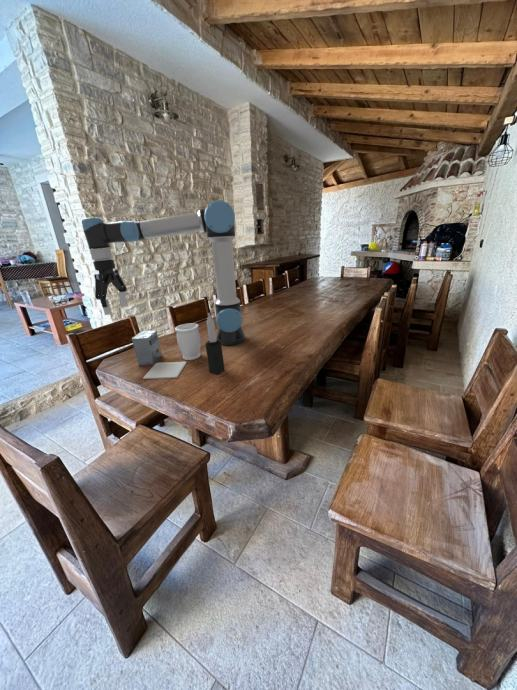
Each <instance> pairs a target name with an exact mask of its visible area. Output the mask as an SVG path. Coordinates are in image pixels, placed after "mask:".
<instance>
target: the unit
mask: <svg viewBox="0 0 517 690" xmlns="http://www.w3.org/2000/svg"><path fill="white" fill-rule="evenodd" d="M131 340H132V345H133V348H134V352H135V353H134V354H135V357H136V360H137V364H138V367H139V366H154V365H155V364H156V363H158V361H159V360H160V358H161V357H163V355H162V349H161V346H160V345H161V344H160V340H159V337H158V332H157V330H155V329H154V330H141V331H140V332H139V333H137V334H136V335H135V336H133V337H132V338H131Z"/></svg>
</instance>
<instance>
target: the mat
mask: <svg viewBox="0 0 517 690" xmlns="http://www.w3.org/2000/svg"><path fill="white" fill-rule="evenodd" d="M187 364H188V361H169V362H168V361H165V362H156V363H155V364H154V365H152V367H151V368H150V369H149V370H148V371H147V372H146V373H145V375H144V376H143V377H142V378H143V380H155V379H156V380H159V379H178V377H179V376H180V375H181V372H182V371H183V369H184V368H185V366H186V365H187Z"/></svg>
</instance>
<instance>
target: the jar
mask: <svg viewBox="0 0 517 690" xmlns="http://www.w3.org/2000/svg"><path fill="white" fill-rule="evenodd" d="M174 330H175V332H176V342H177V345H178V347H179V351H180V353H181V354H182V359H183V360H184V361H185V360H186V361H192V360H193V361H194V360H197V359H199V358H200V357H201V352H200V351H201V342H202V341H201V334H200V331H199V324H198V323H193V322H190V323H183V324H179V325H177V326H175V328H174Z"/></svg>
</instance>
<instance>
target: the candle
mask: <svg viewBox="0 0 517 690" xmlns="http://www.w3.org/2000/svg"><path fill="white" fill-rule="evenodd" d="M215 324H216V323H215V321H214V319H213V317H212V316H211V312H208V313H207V319H206V327H207V335H208V340H207V342H205V345H204V346H205V350H206V357H207V358H206V359H207V363H208V365H207V366H208V370H209V374H213V375H220V374H221V373H222V372H224V371H225V364H224V363H225V362H224V354H223V345H221V341H219V340H218V339H217V332H216V325H215Z"/></svg>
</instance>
